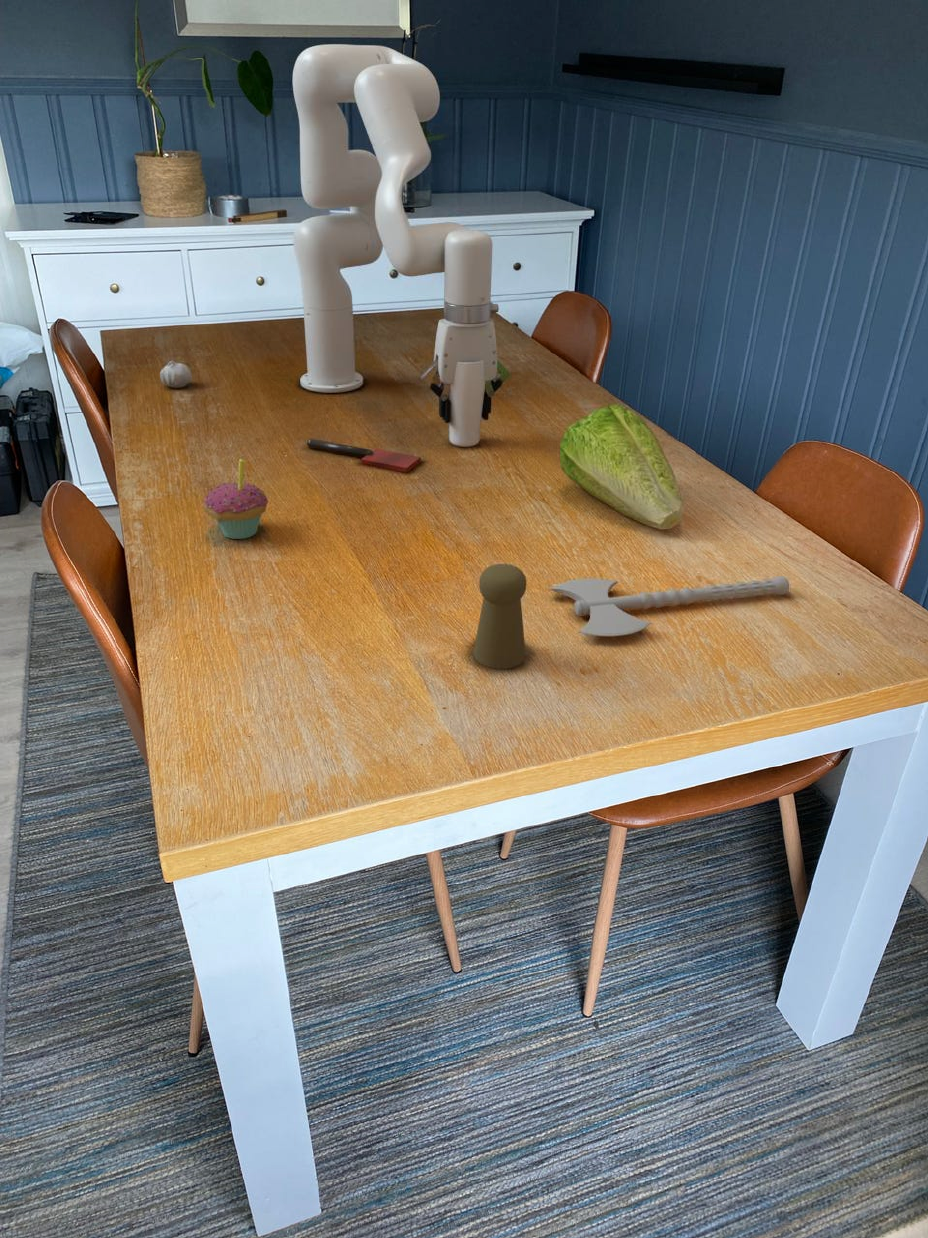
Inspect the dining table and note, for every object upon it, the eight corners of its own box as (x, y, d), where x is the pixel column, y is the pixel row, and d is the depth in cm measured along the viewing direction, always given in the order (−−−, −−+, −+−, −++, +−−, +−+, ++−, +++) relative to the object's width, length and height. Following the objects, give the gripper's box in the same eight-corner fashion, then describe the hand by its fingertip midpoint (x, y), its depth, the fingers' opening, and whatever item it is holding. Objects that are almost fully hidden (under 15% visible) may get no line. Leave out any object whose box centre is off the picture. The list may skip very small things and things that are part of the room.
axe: (756, 568, 129) (759, 552, 128) (812, 620, 117) (816, 603, 116) (545, 590, 122) (546, 574, 121) (582, 648, 111) (584, 631, 110)
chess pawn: (470, 640, 112) (473, 557, 106) (521, 639, 112) (527, 556, 107) (475, 669, 107) (478, 583, 101) (529, 668, 107) (535, 582, 102)
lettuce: (618, 513, 129) (706, 453, 129) (538, 430, 145) (617, 376, 145) (643, 573, 140) (724, 517, 140) (566, 489, 155) (639, 439, 155)
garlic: (169, 392, 186) (165, 366, 184) (157, 385, 190) (154, 359, 187) (198, 387, 190) (194, 361, 187) (186, 380, 193) (182, 354, 190)
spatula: (299, 452, 161) (299, 443, 160) (316, 442, 165) (315, 433, 165) (406, 472, 155) (406, 463, 154) (420, 461, 159) (420, 452, 158)
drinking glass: (485, 436, 169) (487, 352, 162) (482, 450, 164) (484, 363, 156) (447, 434, 170) (448, 350, 162) (442, 448, 164) (443, 361, 156)
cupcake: (281, 526, 137) (274, 447, 130) (246, 550, 130) (237, 468, 124) (232, 514, 140) (223, 436, 133) (195, 537, 133) (184, 456, 127)
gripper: (509, 304, 160) (505, 408, 170) (409, 309, 156) (410, 415, 165) (524, 315, 154) (519, 422, 164) (421, 321, 150) (421, 430, 159)
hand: (464, 418), depth 164 cm, fingers closed on drinking glass, 6 cm apart
